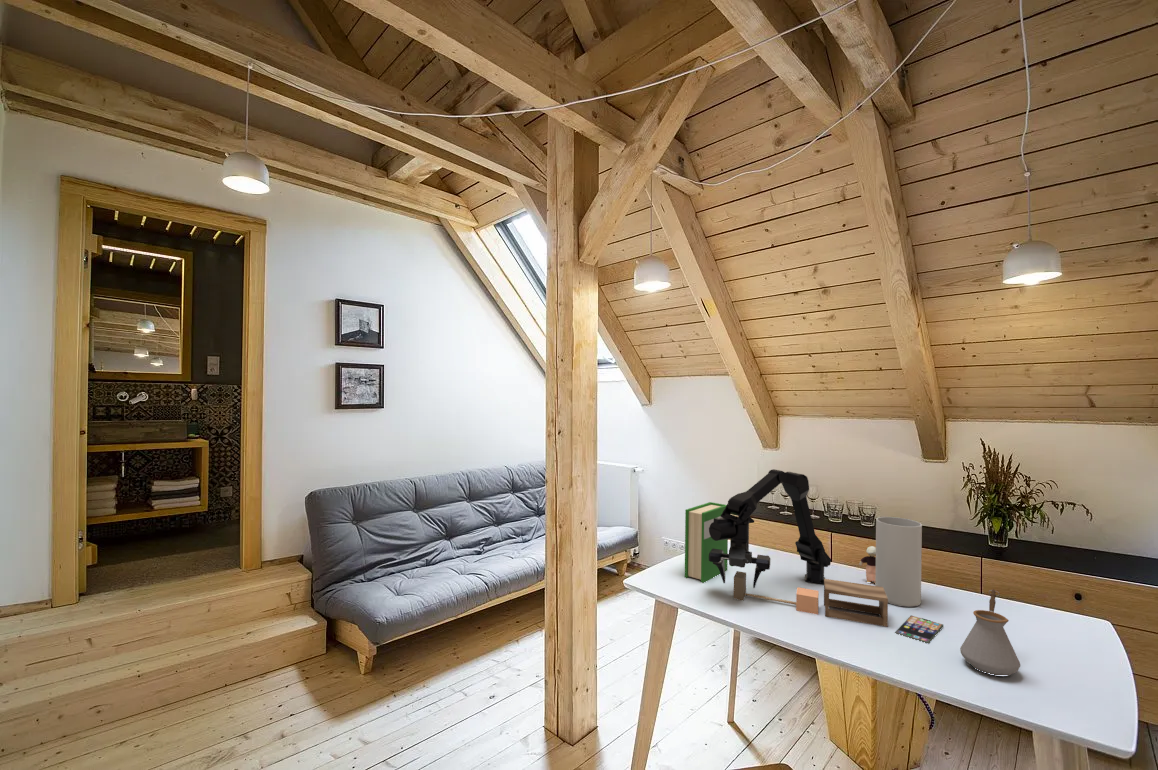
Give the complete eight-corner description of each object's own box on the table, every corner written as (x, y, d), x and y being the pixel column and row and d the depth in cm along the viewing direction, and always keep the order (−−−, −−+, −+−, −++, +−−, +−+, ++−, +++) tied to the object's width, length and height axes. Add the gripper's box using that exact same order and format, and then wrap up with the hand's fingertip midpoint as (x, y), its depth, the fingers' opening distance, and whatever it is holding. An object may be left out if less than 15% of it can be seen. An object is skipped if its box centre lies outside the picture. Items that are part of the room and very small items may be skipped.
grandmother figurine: (883, 582, 181) (883, 546, 181) (884, 586, 178) (885, 549, 178) (858, 579, 184) (858, 543, 185) (859, 582, 181) (859, 546, 181)
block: (736, 592, 171) (736, 571, 171) (818, 607, 160) (818, 584, 160) (733, 598, 166) (733, 576, 166) (817, 614, 155) (818, 591, 155)
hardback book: (703, 583, 179) (704, 513, 179) (684, 577, 184) (685, 509, 184) (727, 570, 192) (728, 505, 192) (709, 565, 197) (710, 502, 197)
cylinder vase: (878, 603, 163) (879, 524, 163) (872, 589, 175) (873, 515, 175) (925, 610, 159) (926, 528, 159) (916, 595, 170) (916, 519, 170)
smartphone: (894, 634, 144) (894, 630, 144) (910, 618, 154) (910, 614, 154) (928, 645, 138) (928, 641, 138) (943, 628, 148) (943, 624, 148)
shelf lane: (823, 604, 162) (824, 578, 162) (882, 613, 156) (882, 587, 156) (825, 616, 154) (825, 589, 154) (887, 626, 147) (887, 598, 147)
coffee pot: (1019, 687, 118) (1020, 621, 118) (957, 669, 125) (957, 607, 126) (1022, 652, 134) (1022, 594, 134) (966, 638, 141) (967, 582, 141)
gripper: (706, 539, 164) (705, 589, 164) (768, 547, 157) (768, 599, 157) (711, 531, 174) (711, 577, 174) (770, 538, 167) (770, 586, 167)
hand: (739, 585), depth 168 cm, fingers open, 9 cm apart
